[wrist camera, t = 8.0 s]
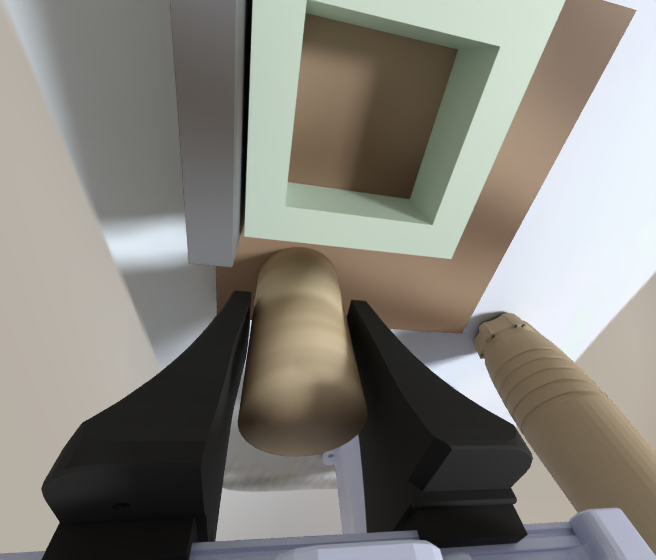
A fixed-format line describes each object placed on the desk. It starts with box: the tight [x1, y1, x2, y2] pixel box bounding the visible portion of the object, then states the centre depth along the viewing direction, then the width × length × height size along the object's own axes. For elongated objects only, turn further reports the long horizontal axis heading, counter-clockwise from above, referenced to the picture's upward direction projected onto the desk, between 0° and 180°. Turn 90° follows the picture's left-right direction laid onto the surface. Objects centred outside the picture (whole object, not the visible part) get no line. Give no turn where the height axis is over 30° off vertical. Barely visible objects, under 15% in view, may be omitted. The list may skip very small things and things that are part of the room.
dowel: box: [238, 247, 368, 456], centre depth 12 cm, size 4×4×7 cm
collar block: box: [244, 0, 566, 259], centre depth 10 cm, size 7×7×2 cm
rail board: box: [170, 0, 637, 333], centre depth 12 cm, size 14×13×5 cm
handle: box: [474, 313, 656, 556], centre depth 13 cm, size 5×6×15 cm
